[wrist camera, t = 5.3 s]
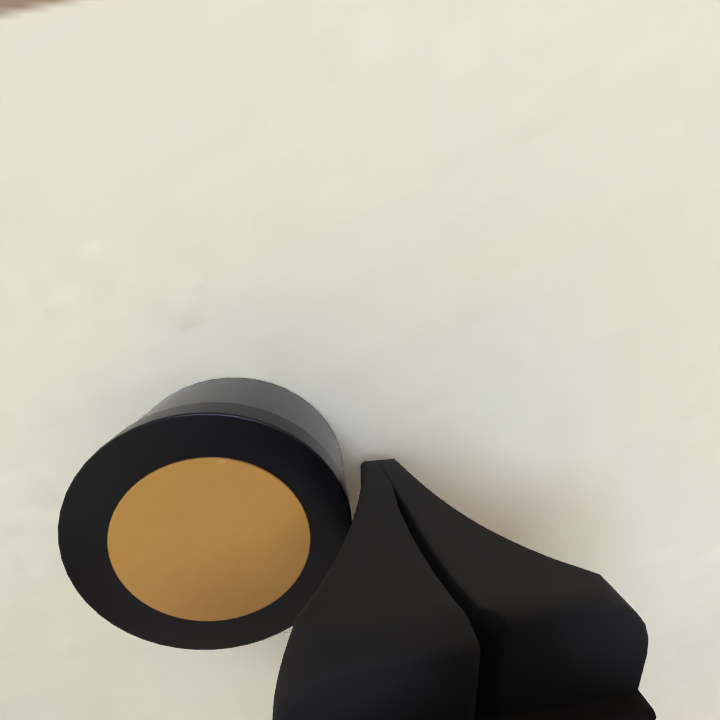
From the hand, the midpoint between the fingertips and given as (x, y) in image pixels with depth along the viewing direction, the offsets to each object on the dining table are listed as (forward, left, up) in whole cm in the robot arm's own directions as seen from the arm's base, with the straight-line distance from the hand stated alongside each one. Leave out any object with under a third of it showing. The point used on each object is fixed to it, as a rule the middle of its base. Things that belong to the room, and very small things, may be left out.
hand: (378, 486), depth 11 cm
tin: (0, +5, -1) cm, 5 cm away
